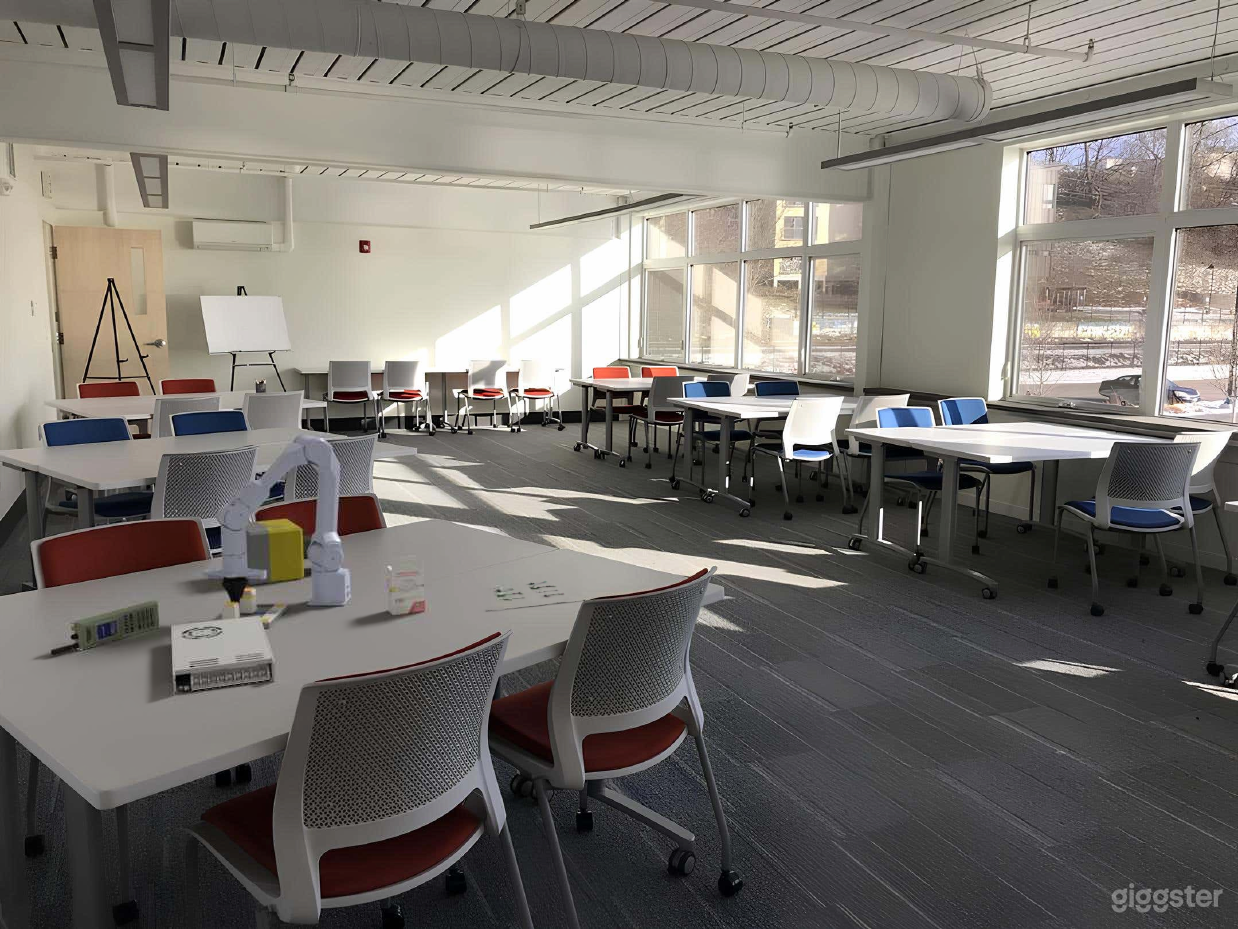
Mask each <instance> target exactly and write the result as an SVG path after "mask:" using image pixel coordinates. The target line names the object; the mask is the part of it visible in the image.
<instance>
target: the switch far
mask: <svg viewBox="0 0 1238 929" xmlns="http://www.w3.org/2000/svg"><path fill="white" fill-rule="evenodd" d="M244 595H255V596H256V597H257V591H256V588H254V587H252V588H251V587H245V590H244V593H243V596H244ZM243 596H242V597H243Z"/></svg>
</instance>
